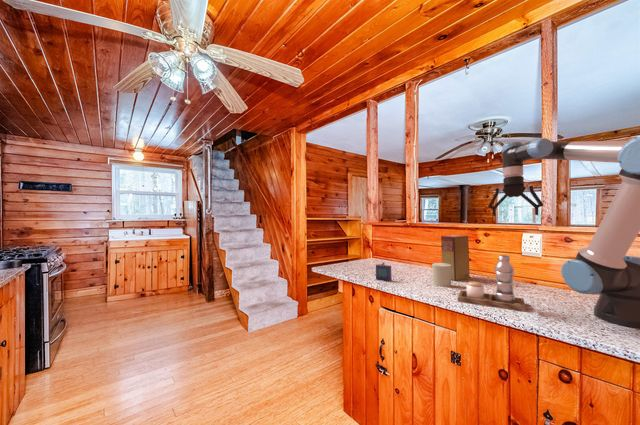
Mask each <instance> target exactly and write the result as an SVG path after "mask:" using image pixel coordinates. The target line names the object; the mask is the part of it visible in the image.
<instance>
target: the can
mask: <svg viewBox="0 0 640 425" xmlns="http://www.w3.org/2000/svg"><path fill="white" fill-rule="evenodd" d="M431 268H432V270H431V271H432V286H436V287H442V288H447V287H448V288H449V287H451V286H452V280H451V265H450V264H446V263H442V262H435V263H432V264H431Z"/></svg>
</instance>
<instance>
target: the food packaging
mask: <svg viewBox="0 0 640 425" xmlns="http://www.w3.org/2000/svg"><path fill="white" fill-rule="evenodd" d="M440 237H441V238H440V239H441V241H440V242H441V245H440V246H441V247H440V248H441V263H446V264H450V265H451V281H454V282H457V281H463V280H468V279H470V278H471V277H470V276H471V275H470V250H469V248H470V247H469V235H466V234H465V235H462V234H450V235H441V236H440Z"/></svg>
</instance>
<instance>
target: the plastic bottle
mask: <svg viewBox="0 0 640 425" xmlns="http://www.w3.org/2000/svg"><path fill="white" fill-rule="evenodd" d="M510 261H511V258H510V255H507V254H499V255H498V262H496V264H495V266H494V272H495V273H494V274H495V279H496V290H495V294H494V295H495V298H496V301H497V302H503V303H510V304H514V303H515V297H516V296H515V293H514V292H515V291H514V284H513V283H514V273H515V269H514V266H513V264H511V262H510Z"/></svg>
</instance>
